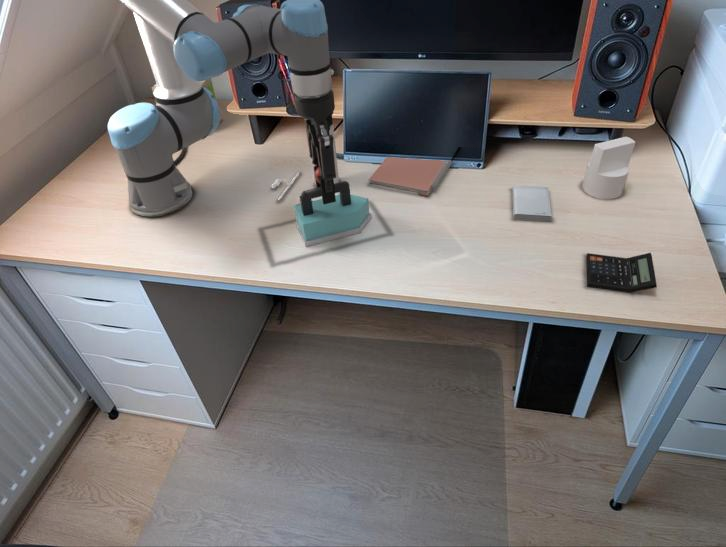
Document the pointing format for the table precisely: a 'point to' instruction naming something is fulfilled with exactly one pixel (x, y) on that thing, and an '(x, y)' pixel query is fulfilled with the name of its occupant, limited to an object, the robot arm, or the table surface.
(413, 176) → the notebook
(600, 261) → the calculator
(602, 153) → the cylinder with rectangular tab
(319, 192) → the iron
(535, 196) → the hard drive
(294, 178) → the picture light
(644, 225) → the table surface
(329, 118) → the travel mug
